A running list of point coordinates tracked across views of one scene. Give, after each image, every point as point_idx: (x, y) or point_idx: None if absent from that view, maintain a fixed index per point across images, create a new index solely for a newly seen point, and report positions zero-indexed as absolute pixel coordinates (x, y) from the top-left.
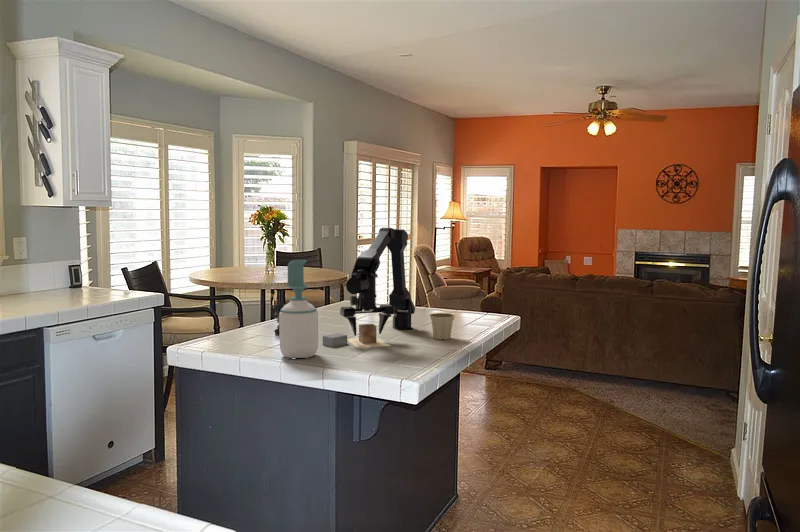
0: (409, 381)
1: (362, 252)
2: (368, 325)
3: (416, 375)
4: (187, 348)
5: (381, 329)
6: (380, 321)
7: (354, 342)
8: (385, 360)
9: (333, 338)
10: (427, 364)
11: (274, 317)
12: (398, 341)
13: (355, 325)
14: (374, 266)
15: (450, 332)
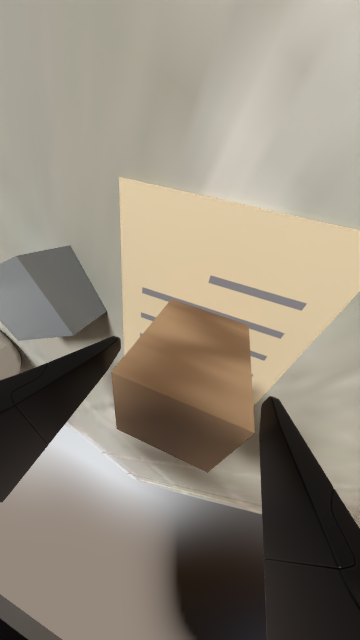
0: (133, 477)
1: None
2: (170, 436)
3: (149, 480)
4: None
5: (266, 446)
6: (292, 529)
7: (139, 310)
8: (144, 449)
9: (24, 338)
10: (189, 487)
11: None
12: (342, 413)
13: (65, 416)
14: None
15: None
